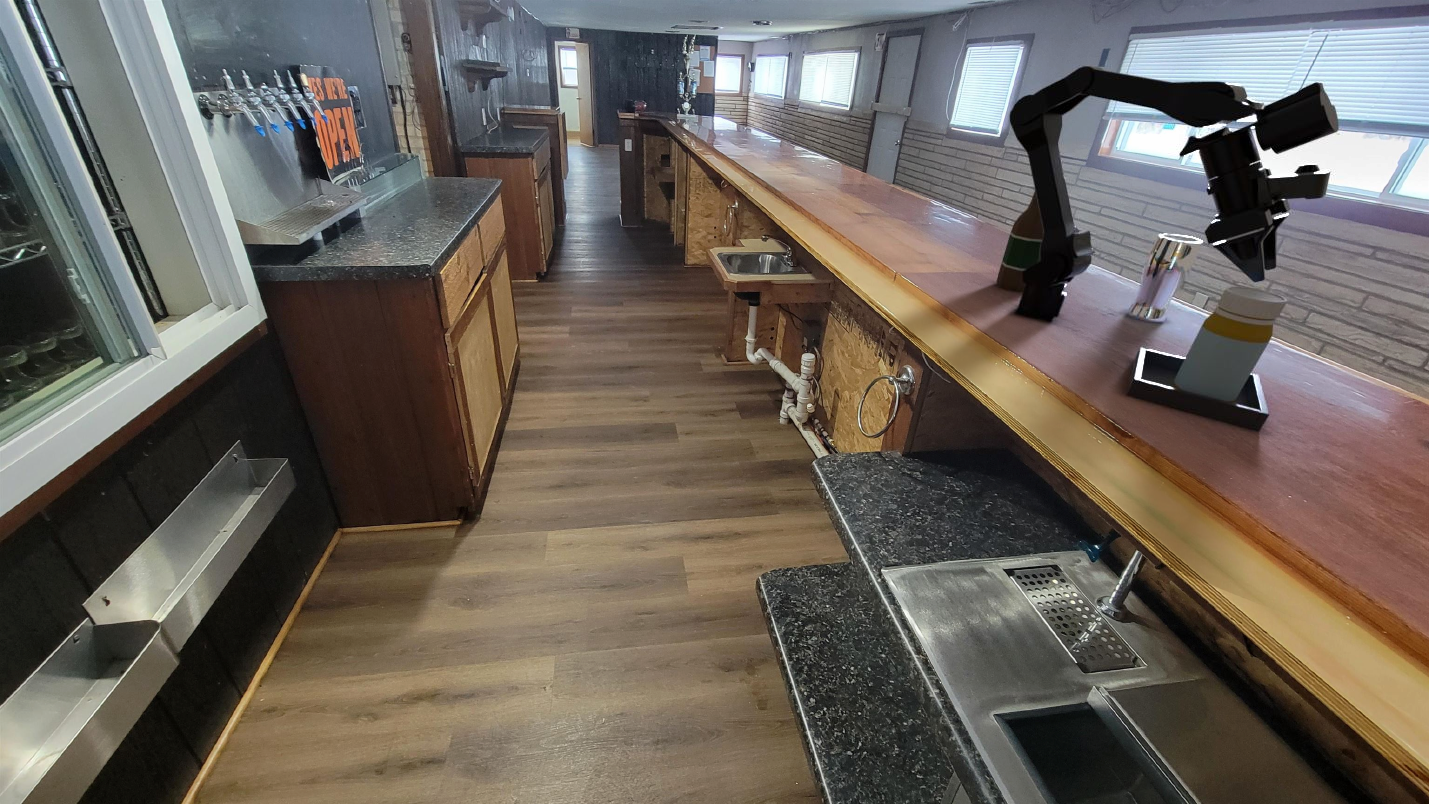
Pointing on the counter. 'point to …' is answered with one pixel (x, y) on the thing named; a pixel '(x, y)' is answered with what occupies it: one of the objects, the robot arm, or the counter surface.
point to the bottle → (1230, 343)
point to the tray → (1155, 385)
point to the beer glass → (1164, 275)
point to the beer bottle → (1021, 248)
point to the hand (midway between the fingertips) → (1265, 275)
